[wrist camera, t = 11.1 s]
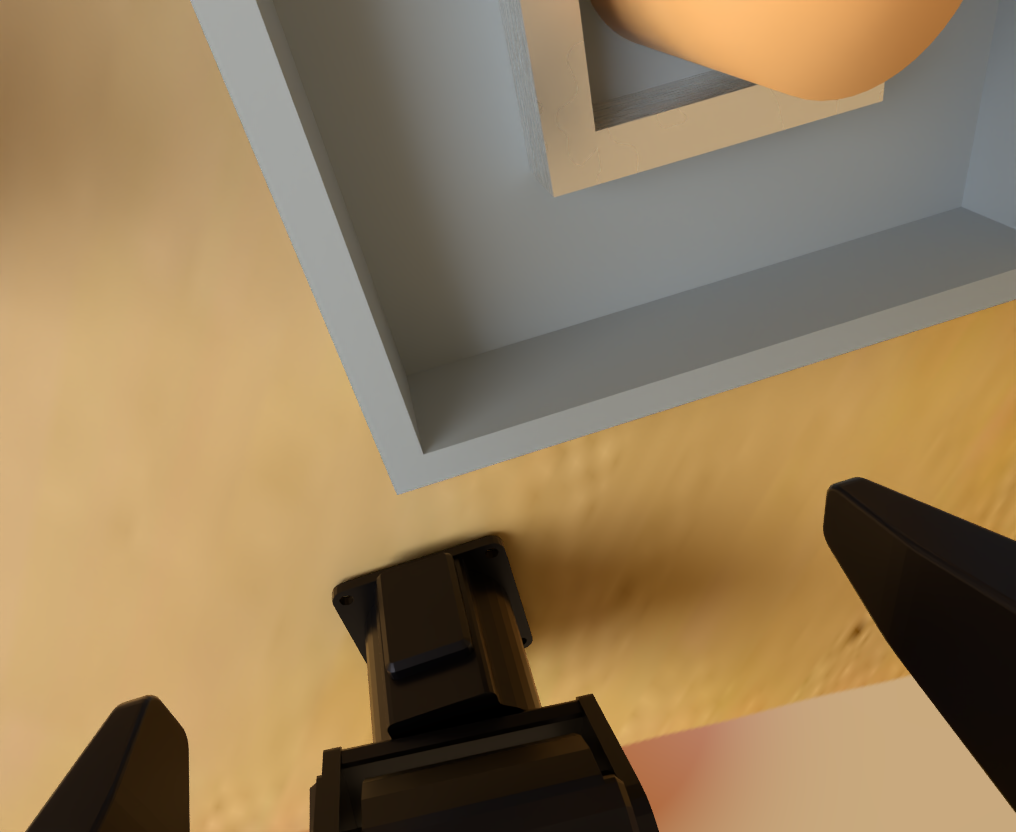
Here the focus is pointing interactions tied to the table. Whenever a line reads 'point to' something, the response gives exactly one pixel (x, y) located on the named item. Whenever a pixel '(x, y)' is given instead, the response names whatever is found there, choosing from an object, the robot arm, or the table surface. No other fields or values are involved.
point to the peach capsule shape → (787, 38)
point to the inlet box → (605, 210)
